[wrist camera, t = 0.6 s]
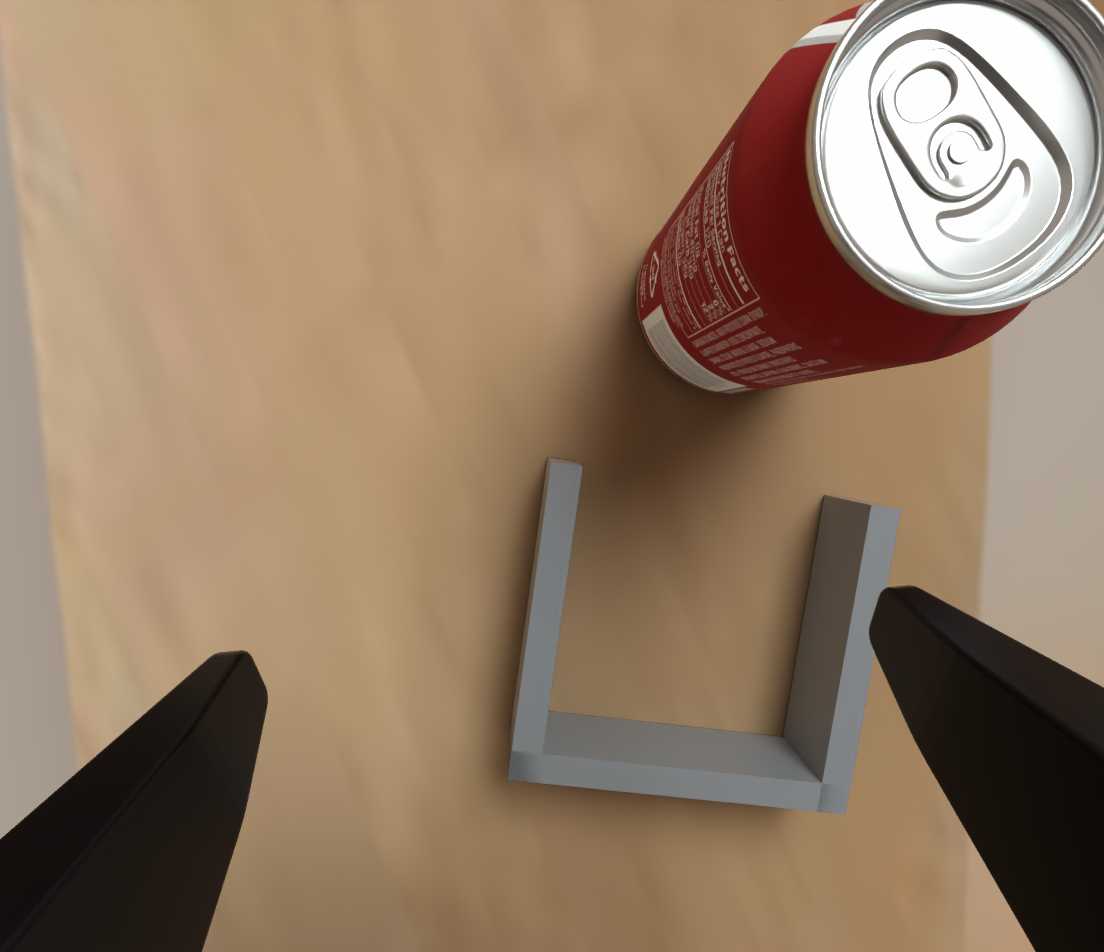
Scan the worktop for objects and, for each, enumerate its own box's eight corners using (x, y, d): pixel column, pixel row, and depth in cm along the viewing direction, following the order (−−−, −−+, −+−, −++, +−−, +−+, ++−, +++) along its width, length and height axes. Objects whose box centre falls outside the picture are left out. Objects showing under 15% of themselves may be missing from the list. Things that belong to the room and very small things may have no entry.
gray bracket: (803, 764, 23) (845, 814, 20) (509, 732, 22) (507, 780, 19) (849, 498, 22) (900, 509, 19) (547, 457, 21) (551, 461, 18)
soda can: (700, 431, 22) (917, 433, 10) (595, 276, 21) (691, 75, 9) (849, 325, 22) (1252, 196, 10) (750, 167, 21) (1048, -179, 9)
